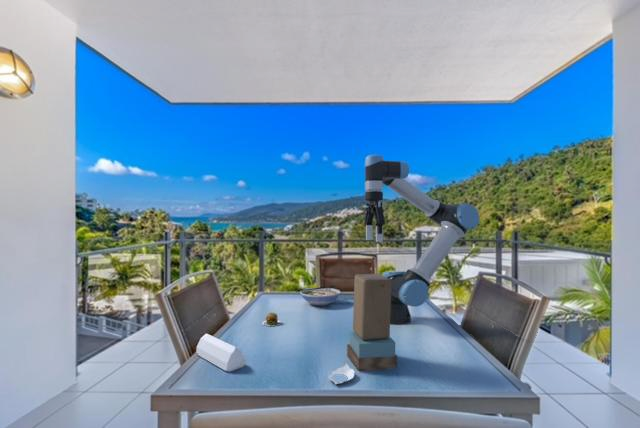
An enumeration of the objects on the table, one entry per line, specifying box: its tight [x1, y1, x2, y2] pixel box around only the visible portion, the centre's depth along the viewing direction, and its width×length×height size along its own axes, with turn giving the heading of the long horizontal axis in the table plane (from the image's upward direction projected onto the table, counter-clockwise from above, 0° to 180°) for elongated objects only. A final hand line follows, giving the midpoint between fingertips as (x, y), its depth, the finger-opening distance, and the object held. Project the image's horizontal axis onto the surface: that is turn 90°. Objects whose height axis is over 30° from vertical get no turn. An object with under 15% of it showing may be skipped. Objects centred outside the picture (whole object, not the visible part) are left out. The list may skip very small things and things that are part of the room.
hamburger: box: [261, 312, 282, 327], centre depth 162 cm, size 12×12×6 cm
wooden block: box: [352, 273, 391, 340], centre depth 120 cm, size 10×10×20 cm
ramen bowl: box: [297, 285, 341, 307], centre depth 198 cm, size 25×23×8 cm
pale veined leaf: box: [327, 362, 355, 385], centre depth 106 cm, size 8×12×2 cm, turn 158°
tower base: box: [346, 343, 398, 372], centre depth 119 cm, size 13×13×4 cm
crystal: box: [196, 333, 247, 373], centre depth 121 cm, size 7×7×24 cm
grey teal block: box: [349, 331, 396, 358], centre depth 119 cm, size 12×12×4 cm
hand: (374, 240), depth 151 cm, fingers open, 13 cm apart
